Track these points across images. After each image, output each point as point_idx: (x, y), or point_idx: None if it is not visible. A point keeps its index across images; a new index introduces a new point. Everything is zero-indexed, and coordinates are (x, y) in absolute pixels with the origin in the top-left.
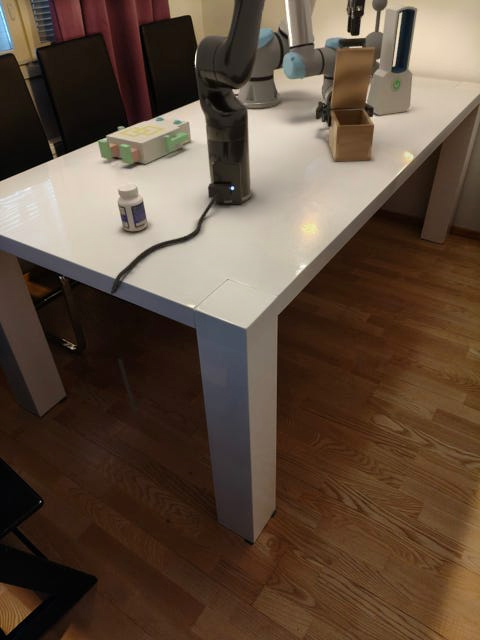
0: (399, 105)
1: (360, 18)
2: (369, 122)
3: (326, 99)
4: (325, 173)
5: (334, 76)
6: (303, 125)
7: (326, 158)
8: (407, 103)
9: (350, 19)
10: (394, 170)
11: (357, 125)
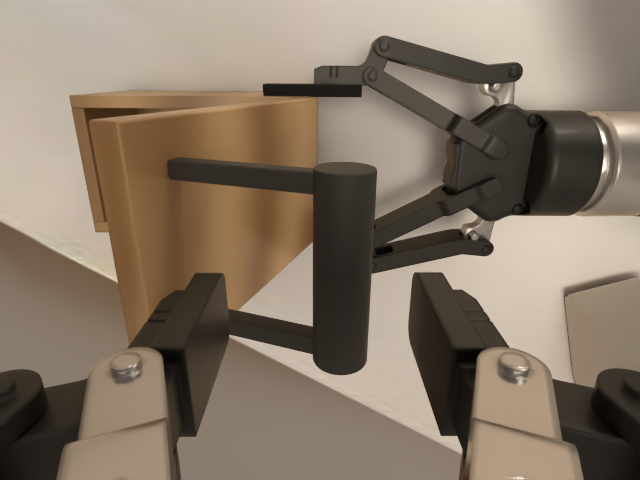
0: (582, 369)
1: (180, 434)
2: None
3: (583, 112)
4: (24, 46)
5: (218, 106)
6: (537, 11)
7: (157, 65)
8: None
9: (439, 349)
10: (72, 245)
11: (85, 174)
